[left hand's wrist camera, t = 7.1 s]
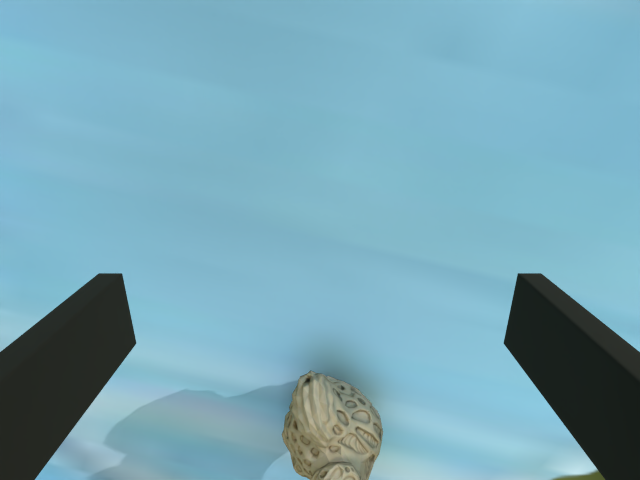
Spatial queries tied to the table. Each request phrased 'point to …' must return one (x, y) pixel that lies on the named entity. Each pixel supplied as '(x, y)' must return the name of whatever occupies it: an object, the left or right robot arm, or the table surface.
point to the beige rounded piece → (331, 430)
